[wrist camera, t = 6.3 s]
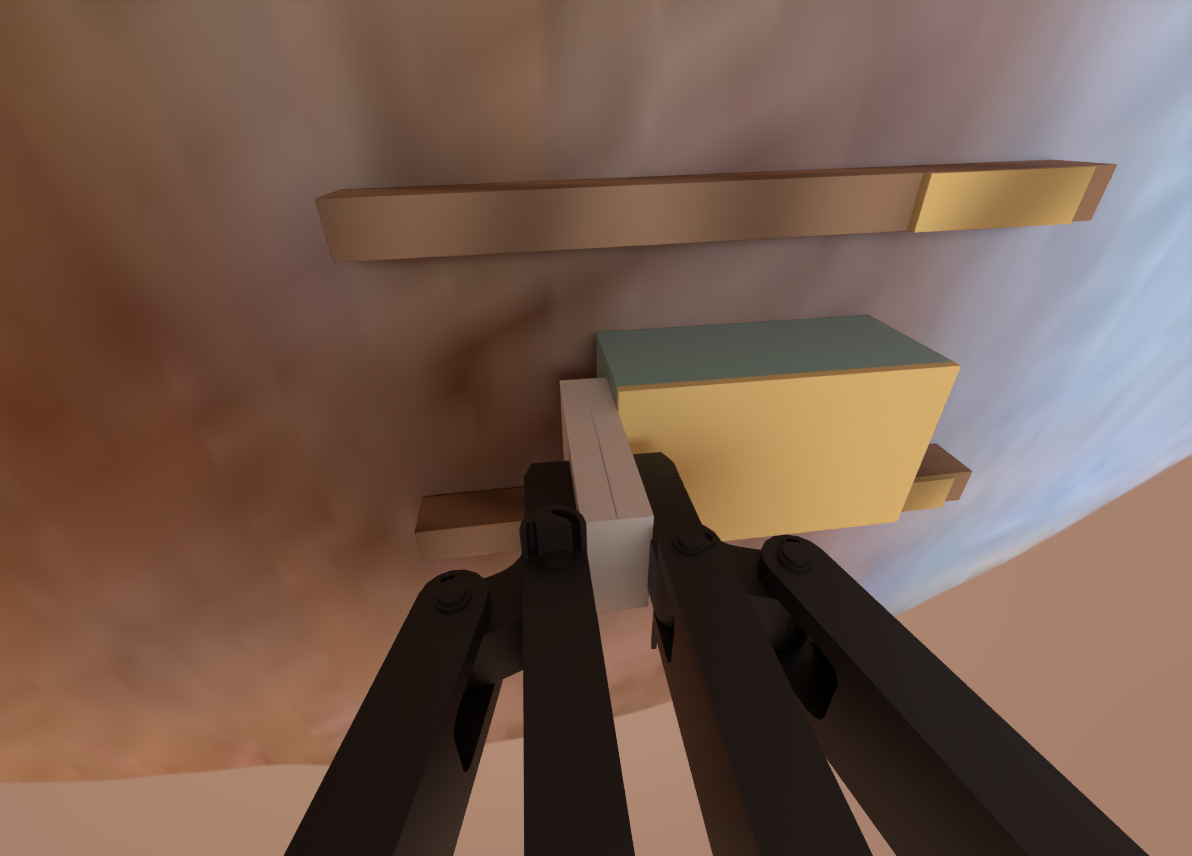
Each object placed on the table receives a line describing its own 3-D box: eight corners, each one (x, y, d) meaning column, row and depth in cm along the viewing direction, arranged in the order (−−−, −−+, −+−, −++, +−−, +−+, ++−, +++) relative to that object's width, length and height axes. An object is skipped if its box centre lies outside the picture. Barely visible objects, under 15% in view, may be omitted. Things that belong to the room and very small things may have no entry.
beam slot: (431, 525, 20) (421, 568, 18) (339, 189, 14) (310, 200, 12) (925, 471, 22) (964, 504, 21) (1053, 159, 16) (1127, 165, 14)
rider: (598, 471, 20) (616, 552, 16) (596, 331, 17) (618, 391, 13) (828, 450, 21) (897, 521, 17) (867, 314, 18) (961, 365, 14)
